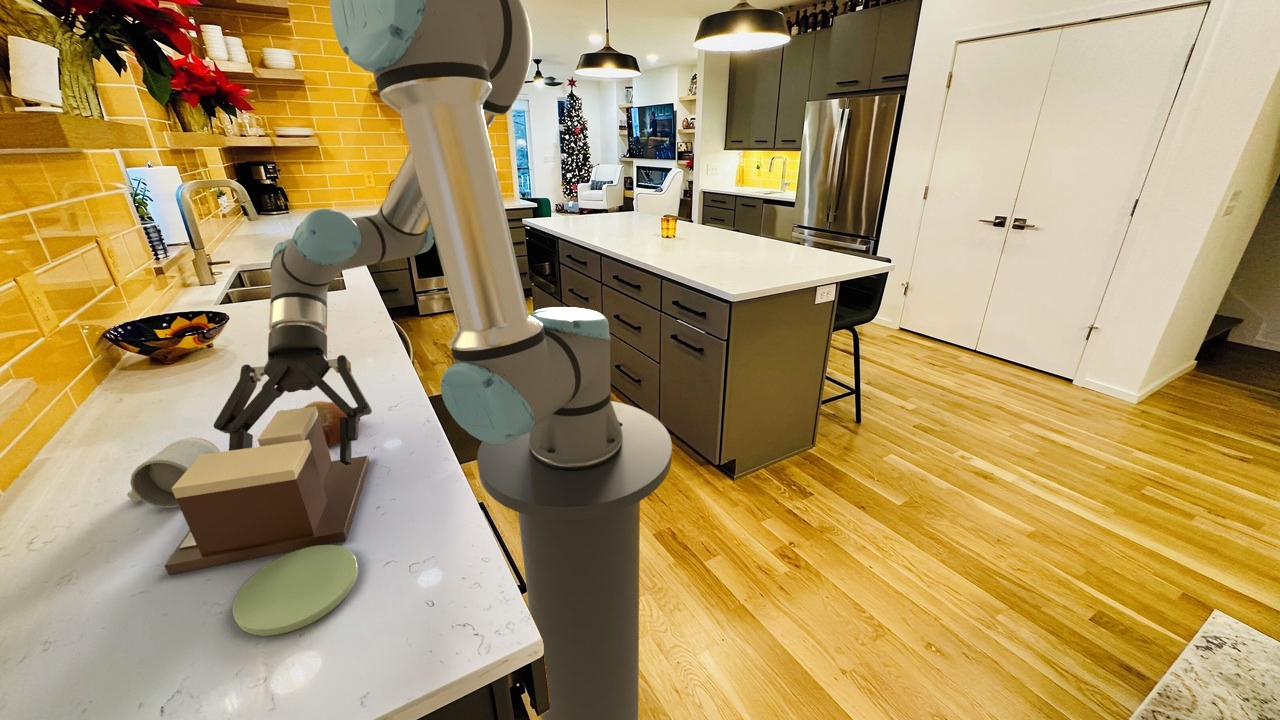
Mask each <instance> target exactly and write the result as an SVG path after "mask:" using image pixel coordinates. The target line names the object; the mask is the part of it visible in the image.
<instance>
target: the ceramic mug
mask: <svg viewBox="0 0 1280 720" xmlns="http://www.w3.org/2000/svg"><path fill="white" fill-rule="evenodd" d="M218 452H221V451H220V449H219V448H218V447H217V445H215V444H214V443H213V442H212V441H209V440H207V439H204V438H201V437H185V438H182V439H178V440H176V441H174V442H172V443H170V444H169V445H167V446H166V447H164V448H163V449H162V450H161V451H160V450H159V452H157V453H156V454H154V455H153V456H152V457H150V458H149V459H147V460H146V461H144V462H142V463H141V464H139V466H137V467H136V468H135V469H134V471H132V473H131V476H130V482H129V483H130V487H131V489H130V490H129V491H128V492H127V493H126V496H127V497H128V498H129V499H130V500H131V501H132V502H134V503H139V502H141V501H142V502H145V503H146V504H148V505H150V506H153V507H157V508H161V509H172V508H173V509H174V508H180V507H179V504H178V502H177V500H176V498H175V496H174V493H173V491H172V489H171V488H172V487H173V486H174V485H175V484H176V483H177V481H178V480H179V479H180V478H181V477H182V476H183V474H184V473H185V472H186V471H187V470H188V469H189V467H190V466H191V465H192V464H193V463H194V462H195V460H196V459H197V458H198V457H199V456H200V455H203V454H211V453H218Z"/></svg>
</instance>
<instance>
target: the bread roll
mask: <svg viewBox="0 0 1280 720" xmlns="http://www.w3.org/2000/svg"><path fill="white" fill-rule="evenodd" d="M308 407H316V408H317V411H318V415H319V419H320V422H321V426H322V429H323V433H324V436H325V440H326V443H327V447H329V446H333V445H335V444H336V445H337V444H340V418H342V417H346V414H345V413H344V412H343V411H342V410H341V409H340V408H339V407H338V406H336V405H335V404H334V403H333V402H332V401H325V400H315V401H312V402H310V403H308V404H306V405H304V406H303V407H302V408H308ZM350 407H351V408H352V409H353V408H354V407H353V406H350ZM359 422H361V417H360V418H359V420H358V424H359Z"/></svg>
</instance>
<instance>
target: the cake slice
mask: <svg viewBox="0 0 1280 720" xmlns="http://www.w3.org/2000/svg"><path fill="white" fill-rule="evenodd" d="M303 440H309V441H310V445H311V448H312V451H313V455H314V458H315V461H316V465H317V468H318V471H319V475H320V478H321V481H322V485H323V483H324V480H325V478H326V475H327V473H328V471H329V468H330V466H331V464H332V461H333V460H332V456H331V454H330V451H329V446H327V443H326V440H325V436H324V433H323V429H322V426H321V422H320V419H319V415H318V411H317V408H316V407H308V408H303V407H301V408H293V409H285V410H278V411H276V413H275V414H274V415H273V416H272V418H271V420H270V421H269V422H268V423H267V425H266V427H265V428H264V429H263V431H262V432H261V433H260V435H259V437H258V438H257V442H258V445H259V447H260V446H267V445H275V444H282V443H289V442H296V441H303Z"/></svg>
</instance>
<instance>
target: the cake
mask: <svg viewBox="0 0 1280 720" xmlns="http://www.w3.org/2000/svg"><path fill="white" fill-rule="evenodd" d="M171 489H172V491H173V493H174V496H175V498H176V500H177V502H178V504H179V507H178V508H179V509H180V511H181V513H182V515H183V517H184V520H185V522H186V524H187V526H188V529H189V530H190V531H191V533H192V535H193V538H194V540H195V542H196V544H197V547H198V549H199V551H200V553H201V555H202V556H203V555H208V554H213V553H219V552H224V551H229V550H235V549H240V548H245V547H251V546H256V545H261V544H267V543H272V542H277V541H282V540H288V539H293V538H298V537H304V536H309V535H314V533H315V531H316V528H317V526H318V523H319V520H320V518H321V515H322V513H323V510H324V508H325V505H326V502H327V498H326V495H325V491H324V488H323V485H322V481H321V478H320V475H319V471H318V468H317V465H316V461H315V458H314V455H313V451H312V448H311V445H310V441H309V440H303V441H296V442H289V443H282V444H275V445H267V446H260V445H259V446H254V447H253V446H252V448H246V449H239V450H232V451H229V450H226V451H220V452H218V453H211V454H203V455H200V456H199V457H198V458H197V459H196V460H195V462H194V463H193V464H192V465H191V466H190V467H189V469H188V470H187V471H186V472H185V473H184V474H183V476H182V477H181V478H180V479H179V480H178V481H177V483H176V484H175V485H174V486H173V487H172V488H171Z"/></svg>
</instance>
